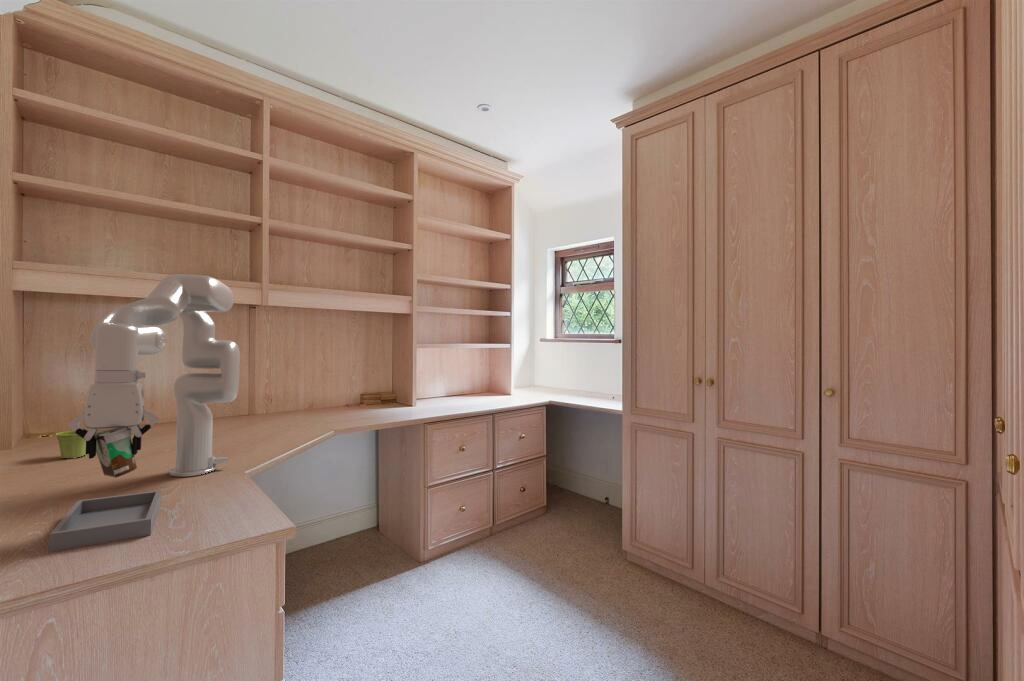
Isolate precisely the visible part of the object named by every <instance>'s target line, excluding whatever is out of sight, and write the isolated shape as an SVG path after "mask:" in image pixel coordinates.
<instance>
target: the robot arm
mask: <svg viewBox="0 0 1024 681" xmlns="http://www.w3.org/2000/svg"><path fill="white" fill-rule="evenodd" d="M234 302H235V300H234V293H233V291H232V290H231V288H230V286H228V285H226V284H225V283H223V282H222V281H220V280H219V279H216V278H215V277H212V276H211V275H210V276H209V275H205V274H204V275H202V274H201V275H200V274H182V273H181V274H179V273H177V274H176V273H175V274H170V275H167V276H165V277H164V278H163V279H162V280H161V281H160V282H159V283H158V284H157V285H156V286H155V288H154V289H153V290H152V291H151V292H150V293H149V294H148V295H147V297H146V298H142V299H139V300H137V301H133V302H130V303H127V304H125V305H122V306H120V307H118V308H114V309H112V310H111V311H109V312H108V313H107V314H105V315H104V316H103V317H102V318H101V319H100V320H99V321H98V323H97V324H96V325H95V326H94V328H93V329H92V331H91V334H90V338H89V339H90V340H89V342H90V345H91V346H92V349H94V355H95V356H94V382H93V383H91V384H90V385H89V388H88V393H87V397H86V400H85V408H84V410H85V411H84V412H83V413H81V414H80V415H78V416H77V417H75V418H73V419H72V420H70V421H69V422H68V423H66V426H67V427H68V428H69V429H70V430H71V431H74V432H75V433H76V434H77V435H79V436H80V437H82V438H83V439H84V440H85V441H86V455H88V459H89V460H91V459H93V458H95V457H96V455H97V453H96V442H97V439H96V438H95V436H94V435H95V434H96V433H97V432H99V431H98V430H99V429H100V430H101V429H113V428H118V427H129V428H130V429H131V430H132V432H133V433H134V434H133V437H131V441H132V454H133V455H134V456H136V455H137V454H138V453H139V452H138V451H141V450H142V436H143V435H144V434H146V433H147V432H148V431H149V430H150V429H151V428H152V427H153V426H154V425H155V424H156V423H158V422H159V420H160V419H159V417H158V416H156V415H155V414H153V413H152V412H151V411H149V410H147V409H146V408H145V396H144V389H143V388H144V387H143V384H142V382H138V381H139V380H141V379H146V372H142V371H139V369H138V368H139V356H151V355H156V354H158V353H160V352H161V351H163V349H164V348H165V347H166V344H167V335H166V333H165V332H164V330H163V329H162V328H160V327H158V326H161V325H164V324H168V323H171V322H174V321H176V320H177V319H178V317H180V319H181V322H182V325H183V330H182V333H183V335H182V348H181V350H182V351H181V358H182V359H181V360H182V364H183V365H184V366H185V367H186V368H189V369H198V370H220V373H219V372H217V373H215V372H211V373H210V372H191V373H190V372H189V373H185V374H182V375H180V376H178V377H177V378H176V380H174V383H173V392H174V398H175V402H176V441H175V445H176V446H175V466H174V467H172V468H170V470H169V471H168V472H169V475H170V476H172V477H180V478H181V477H185V478H186V477H195V476H196V477H197V476H201V474H202V475H206V474H209V473H208V472H210V473H212V472H211V471H213V472H214V470H215V469H216V470H217V469H218V464H228V463H229V456H225V457H224V456H219V457H216V456H214V453H213V426H214V425H213V422H214V420H213V418H214V417H213V413H212V411H211V409H210V407H208V406H207V404H214V403H215V404H216V403H217V404H218V403H220V404H221V403H231V402H233V401H234V400H236V398H237V396H238V394H239V387H240V372H241V371H240V366H241V351H240V348H239V344H237V343H236V342H235V341H233V340H229V339H216V337H215V336H216V323H215V322H214V320H213V318H212V317H211V316H210V315H209V314H208V312H209V313H211V312H213V313H225V312H228V311H230V310H231V309H232V308H233V306H234ZM145 418H146V419H147V420H148V422H147V423H146V424H144V426H143V427H141V425H140V424H142V422H144V420H145ZM82 422H84V426H85V428H87V429H85V428H84V427H81V425H80V423H82ZM87 430H89V431H87ZM216 470H215V471H216ZM205 473H206V474H205Z"/></svg>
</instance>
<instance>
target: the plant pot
mask: <svg viewBox="0 0 1024 681" xmlns="http://www.w3.org/2000/svg"><path fill="white" fill-rule="evenodd" d="M86 430H87V431H89V429H86ZM55 437H56V439H57V440H58V446H59V450H60V457H61V459H62V458H65V459H69V458H73V459H75V458H74V457H80V458H82V457H85V456H86V455H87V454H86V441H85V440H84V439H83V438H82V437H80V436H79V435H77V434H76V433H75V432H74V431H73V430H66V431H60V432H57V433H55ZM84 455H85V456H84ZM81 456H82V457H81Z"/></svg>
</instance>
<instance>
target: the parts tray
mask: <svg viewBox="0 0 1024 681" xmlns="http://www.w3.org/2000/svg"><path fill="white" fill-rule="evenodd" d="M160 504H161V505H162V490H161V489H160V490H154V491H153V490H152V491H147V492H144V491H143V492H137V493H130V494H119V495H112V496H111V495H110V496H104V497H103V496H102V497H96V498H88V499H86V498H85V499H79V500H76V502H75V504H73V505H72V507H71V508H70V509H69V511H68V512H67V513H66V514H65V516H63V518H62V519H61V520H60V521H59V523H57V525H56V526H55V528H53V529H52V531H50V533H49V552H54V551H61V550H68V549H74V548H75V549H76V548H80V547H86V545H87V546H93V545H98V543H99V544H104V543H103V542H105V543H111V542H117V541H116V540H118V541H123V540H122V539H124V540H129V539H128V538H130V539H135V538H141V537H148V536H151V535H152V533H153V530H154V525H155V522H156V520H157V516H158V514H157V513H159V511H160V508H159V507H161V505H160ZM158 510H159V511H158ZM110 541H111V542H110ZM92 544H93V545H92Z"/></svg>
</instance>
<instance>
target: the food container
mask: <svg viewBox="0 0 1024 681" xmlns="http://www.w3.org/2000/svg"><path fill="white" fill-rule="evenodd" d="M94 436H95V438H96V439H97V442H96V455H97V457H98V458H97V459H98V461H99V465H100V467H101V470H102V473H103V475H104V476H106V477H110V478H115V479H117V478H119V477H122V476H124V475H126V474H129V473H131V472H134V471H135V470H136V469H137V467H138V466H137V462H136V457H135V456H136V455H133V454H132V436H134V433H133V431H132V430H131V428H130V427H117V428H108V429H105V430H102V431H97V432H96V434H95V435H94Z"/></svg>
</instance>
